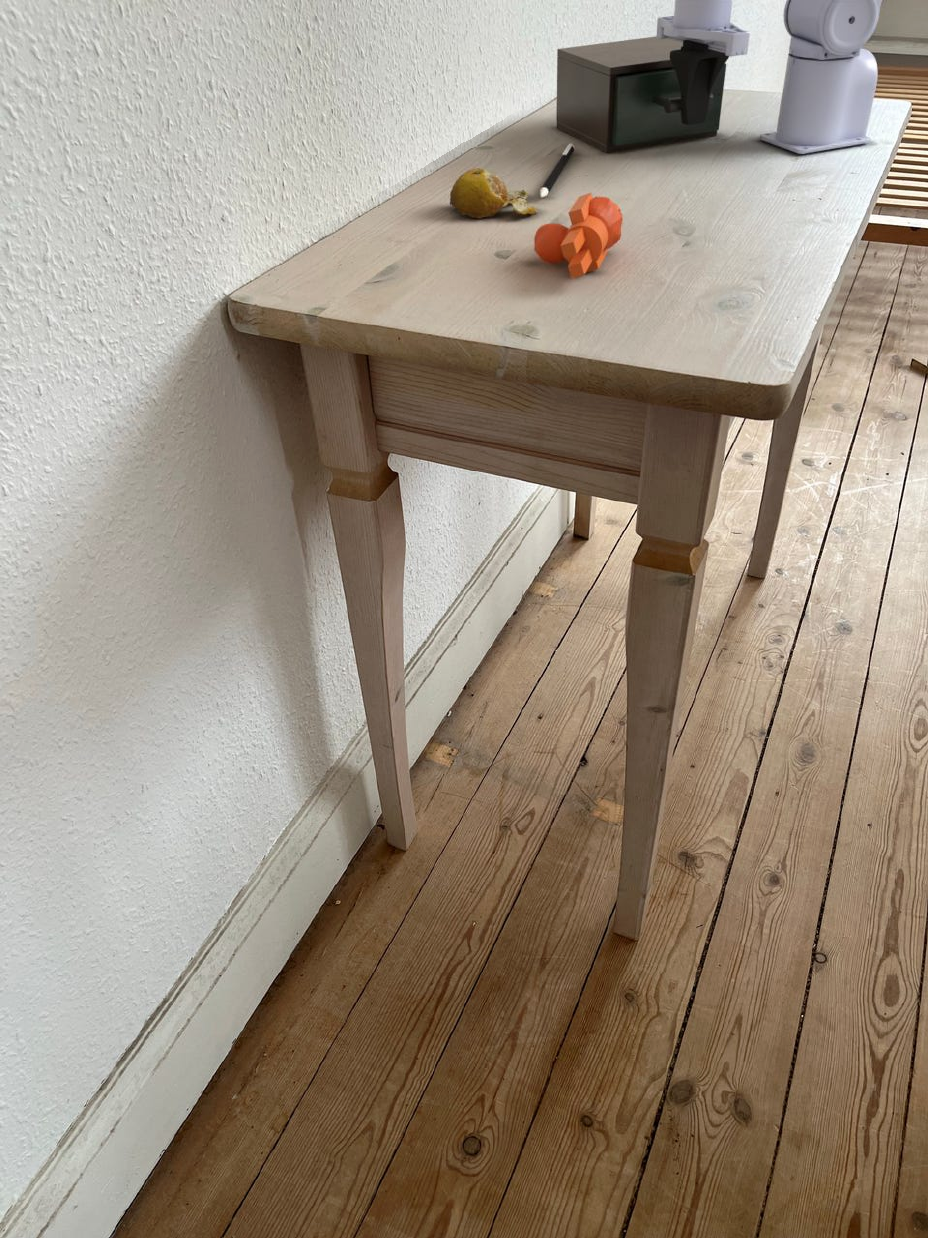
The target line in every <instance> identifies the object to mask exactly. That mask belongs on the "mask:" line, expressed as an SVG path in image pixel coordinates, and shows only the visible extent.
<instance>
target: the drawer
mask: <svg viewBox="0 0 928 1238" xmlns="http://www.w3.org/2000/svg"><path fill="white" fill-rule="evenodd" d="M726 71H727V63H726V62H725V64H724V66H723V67H722V69H721V71H720V73H719V74H718V76H717V78H716V81H715V83H714V85H713V88H712V90H711V94H710V100H709V106H708V111H707V115H706V119H705V122H704V123H699V124H693V125H686V124H683V123H682V119H681V92H680V86H679V82H678V78H677V75H676V72H675V69H674V67H671V68H664V69H657V70H650V71H642V72H635V73H628V74H620V75H616V77H615V90H614V110H613V130H612V144H613V145H615V146H621V145H627V144H634V143H640V142H646V141H653V140H659V139H665V138H672V137H678V136H684V135H690V134H697V133H703V132H709V131H716V130H717V131H719V130H720V124H721V123H720V122H721V115H722V106H723V99H724V88H725V81H726Z"/></svg>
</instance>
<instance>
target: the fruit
mask: <svg viewBox="0 0 928 1238" xmlns="http://www.w3.org/2000/svg"><path fill="white" fill-rule="evenodd" d="M449 195H450V196H449V197H450V198H449V205H450V206H452V207H453V208H455V209H457V211H458V212H459V213H461V216H464V215H468V216H470V217H471V218H476V219H479V220H482V218H488V217H490V218H493V217H494V216H495V215H496V214H497V213H498V211H499V210H500V209H502V208H505V207H506V206H508V205H509V204H511V205H512V210H513V212H514V213H515V214H516V216H517V217H518V218H521V216H525V215H527V214H529V215H535V214H537V213H538V211H537V209H536V208H535V207H534V206H533V205H532V206H529V205H528V202H527V198H528V197H529V196H528V193H527V192H526V191H525V190H524V189H522V190H514V191H509V192H508V189H507V186H506V184H505V182H504V180H503V179H502V178H500V177H499V176H498V175H496V174H495V172H491V171H487V170H486V169H484V168H483V169H482V168H480V167H478V168H477V167H476V168H471V169H468V170H467V171H465V172H464V173H463V174H461V175H460V176H459V177H458V178H457V179H456V181H455V183H454V184H453V186H452V189H451V191H450V194H449Z"/></svg>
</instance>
